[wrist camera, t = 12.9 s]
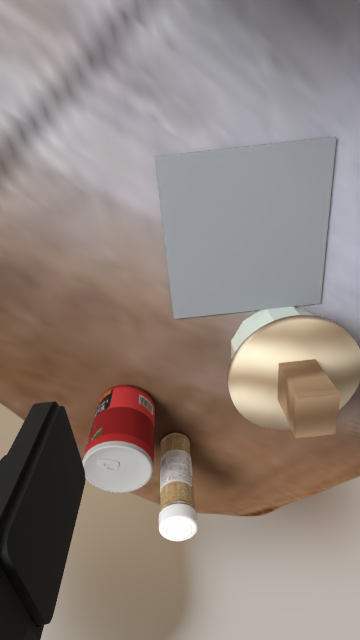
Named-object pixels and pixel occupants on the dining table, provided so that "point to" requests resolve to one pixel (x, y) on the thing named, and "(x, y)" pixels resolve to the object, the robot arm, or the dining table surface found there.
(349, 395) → the lid
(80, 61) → the dining table surface
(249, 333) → the bowl
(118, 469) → the canned food
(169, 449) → the sprinkles bottle
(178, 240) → the mat
